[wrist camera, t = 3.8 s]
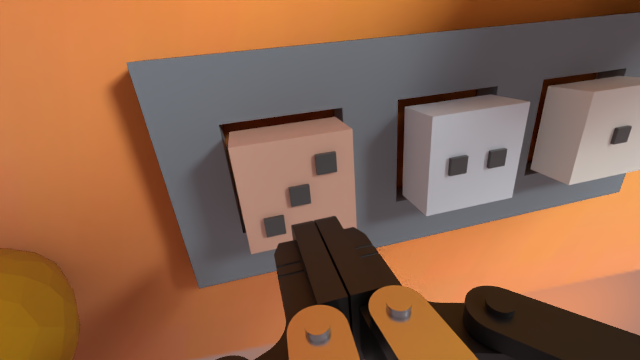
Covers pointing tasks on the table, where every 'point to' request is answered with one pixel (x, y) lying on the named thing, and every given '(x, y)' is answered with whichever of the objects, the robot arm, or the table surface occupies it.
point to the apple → (35, 309)
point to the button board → (361, 120)
